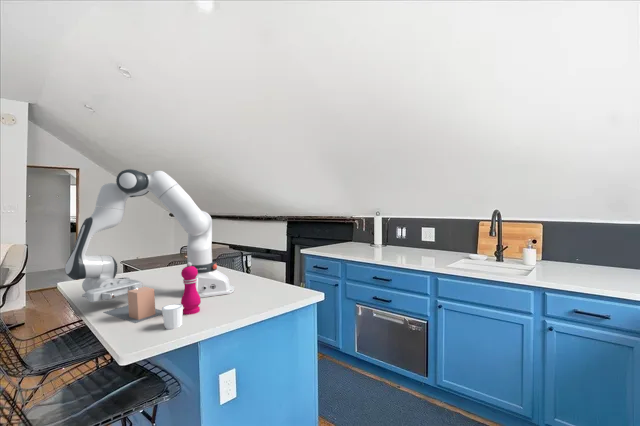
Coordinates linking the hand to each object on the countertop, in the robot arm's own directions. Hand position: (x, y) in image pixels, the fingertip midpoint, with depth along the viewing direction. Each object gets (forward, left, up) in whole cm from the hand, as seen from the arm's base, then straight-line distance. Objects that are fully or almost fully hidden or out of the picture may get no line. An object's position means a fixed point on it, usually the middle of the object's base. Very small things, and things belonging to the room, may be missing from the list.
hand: (124, 293), depth 135 cm
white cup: (-22, +22, -8) cm, 33 cm away
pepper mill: (-26, +9, -8) cm, 29 cm away
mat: (-4, +3, -7) cm, 9 cm away
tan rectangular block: (-8, +8, -7) cm, 14 cm away
